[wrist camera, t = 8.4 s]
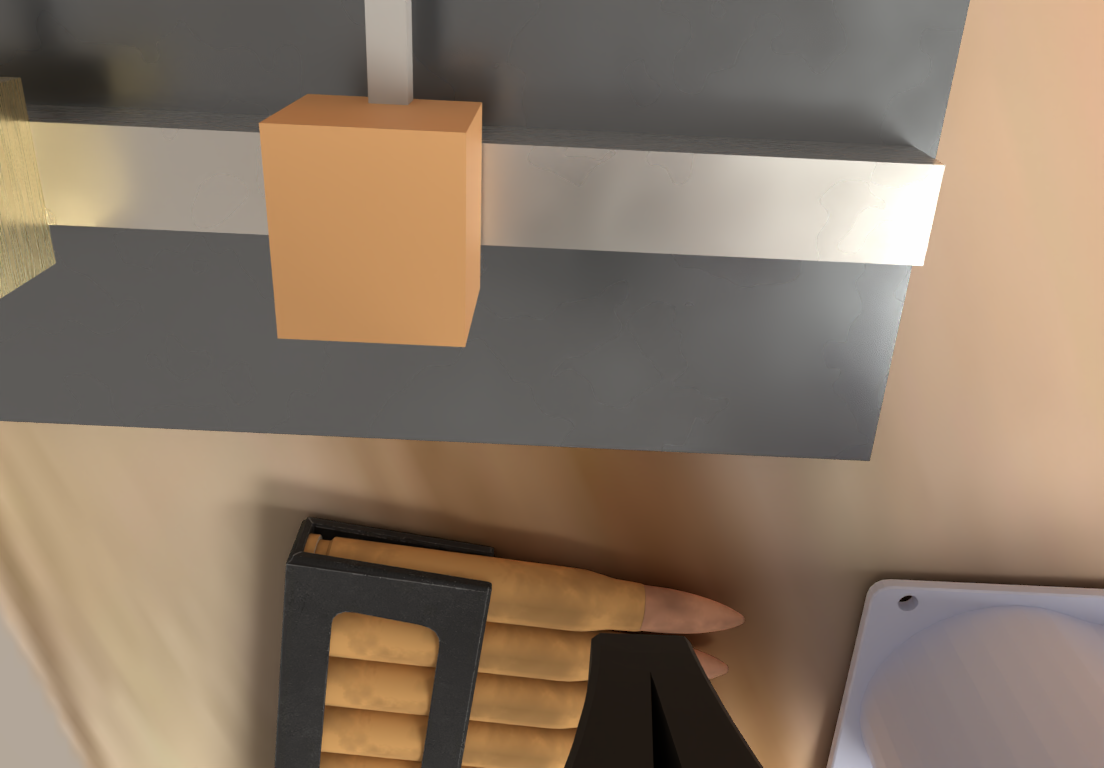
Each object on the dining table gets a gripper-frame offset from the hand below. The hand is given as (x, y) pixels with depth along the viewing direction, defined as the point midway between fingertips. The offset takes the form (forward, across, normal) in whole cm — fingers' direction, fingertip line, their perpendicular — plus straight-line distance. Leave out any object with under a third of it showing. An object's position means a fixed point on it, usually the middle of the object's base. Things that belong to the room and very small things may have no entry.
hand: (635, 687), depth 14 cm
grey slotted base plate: (+11, +4, -5) cm, 13 cm away
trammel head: (+9, +4, -7) cm, 12 cm away
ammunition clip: (+9, +8, +10) cm, 16 cm away
